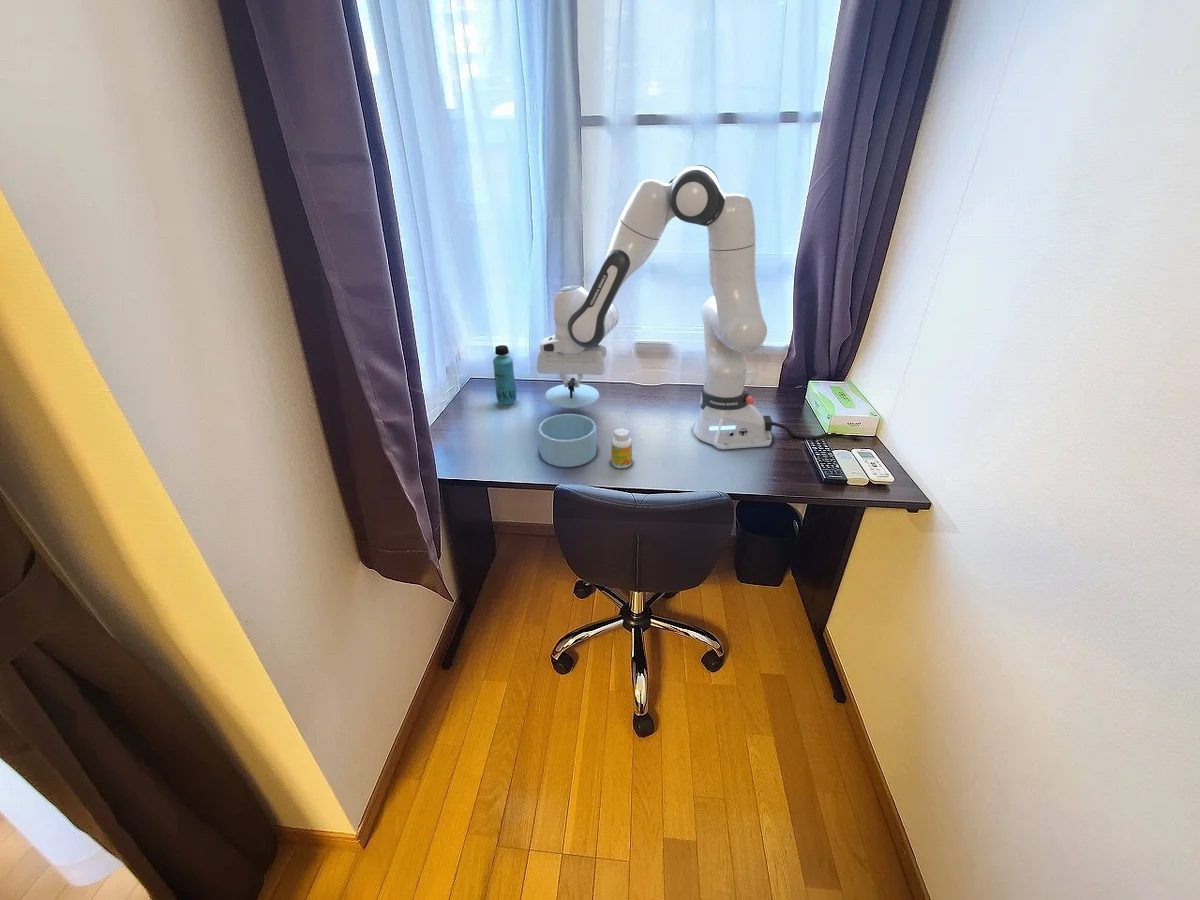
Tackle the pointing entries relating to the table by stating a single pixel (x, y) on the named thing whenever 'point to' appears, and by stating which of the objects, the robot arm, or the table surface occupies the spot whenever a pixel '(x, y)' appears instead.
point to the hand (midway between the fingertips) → (571, 386)
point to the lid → (572, 395)
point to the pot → (567, 440)
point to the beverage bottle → (504, 376)
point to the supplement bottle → (621, 448)
